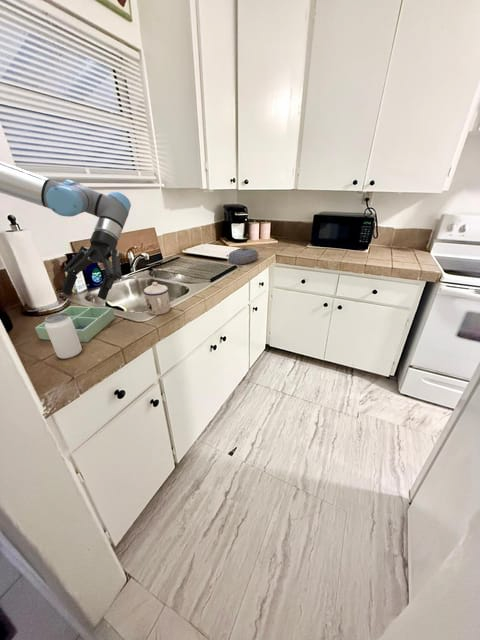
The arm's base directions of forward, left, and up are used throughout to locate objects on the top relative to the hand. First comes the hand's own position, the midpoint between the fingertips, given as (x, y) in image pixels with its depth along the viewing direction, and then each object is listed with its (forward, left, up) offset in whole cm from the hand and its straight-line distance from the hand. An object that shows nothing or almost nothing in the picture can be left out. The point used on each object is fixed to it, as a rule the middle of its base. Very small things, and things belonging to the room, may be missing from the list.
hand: (83, 296), depth 79 cm
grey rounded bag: (+40, +98, -15) cm, 107 cm away
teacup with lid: (+14, +20, -15) cm, 29 cm away
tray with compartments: (-9, +5, -14) cm, 17 cm away
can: (-2, -10, -15) cm, 18 cm away
